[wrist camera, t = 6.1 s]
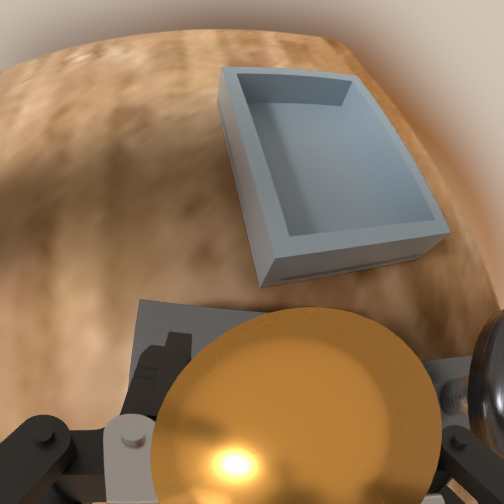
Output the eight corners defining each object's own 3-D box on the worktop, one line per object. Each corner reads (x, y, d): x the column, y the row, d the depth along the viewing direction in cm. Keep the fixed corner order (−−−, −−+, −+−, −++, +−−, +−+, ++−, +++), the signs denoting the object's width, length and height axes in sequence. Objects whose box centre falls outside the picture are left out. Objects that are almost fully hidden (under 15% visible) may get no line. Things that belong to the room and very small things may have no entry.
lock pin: (175, 405, 14) (84, 439, 3) (233, 359, 16) (319, 249, 4) (227, 461, 13) (300, 612, 2) (284, 412, 15) (475, 426, 3)
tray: (217, 105, 24) (221, 67, 21) (342, 107, 27) (357, 76, 23) (259, 287, 18) (274, 258, 14) (418, 258, 21) (451, 232, 17)
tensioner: (136, 481, 12) (76, 551, 4) (149, 315, 16) (103, 235, 8) (469, 451, 14) (570, 446, 6) (467, 329, 19) (560, 285, 11)
